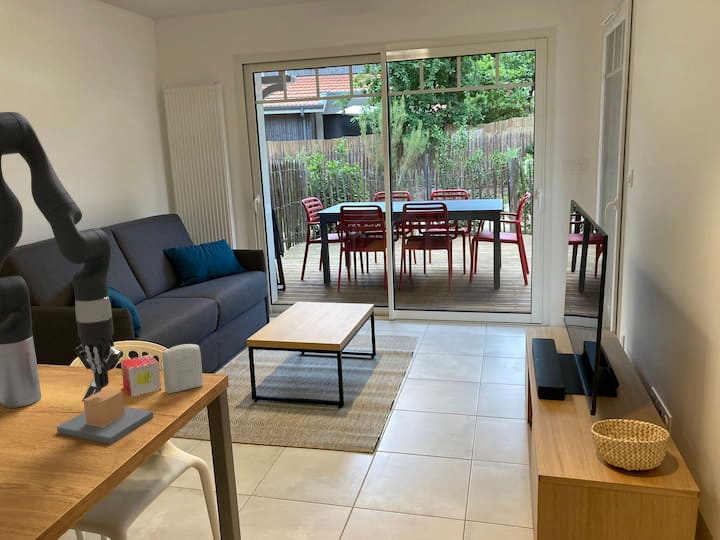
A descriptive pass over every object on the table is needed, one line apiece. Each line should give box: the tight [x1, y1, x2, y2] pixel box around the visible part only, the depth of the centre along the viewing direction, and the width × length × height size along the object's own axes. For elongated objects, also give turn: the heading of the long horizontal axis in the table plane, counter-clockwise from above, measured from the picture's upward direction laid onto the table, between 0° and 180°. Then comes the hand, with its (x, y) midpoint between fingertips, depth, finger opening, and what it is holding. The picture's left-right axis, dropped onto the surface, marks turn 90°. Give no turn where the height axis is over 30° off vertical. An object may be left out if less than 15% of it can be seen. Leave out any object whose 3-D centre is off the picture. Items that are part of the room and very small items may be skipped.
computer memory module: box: [81, 378, 103, 401], centre depth 161 cm, size 15×1×4 cm
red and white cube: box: [120, 354, 162, 398], centre depth 160 cm, size 8×8×8 cm
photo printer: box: [162, 343, 204, 394], centre depth 160 cm, size 10×4×12 cm, turn 123°
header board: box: [56, 405, 154, 445], centre depth 140 cm, size 16×14×4 cm
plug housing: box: [83, 387, 125, 427], centre depth 140 cm, size 5×7×6 cm
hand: (102, 386), depth 139 cm, fingers closed
